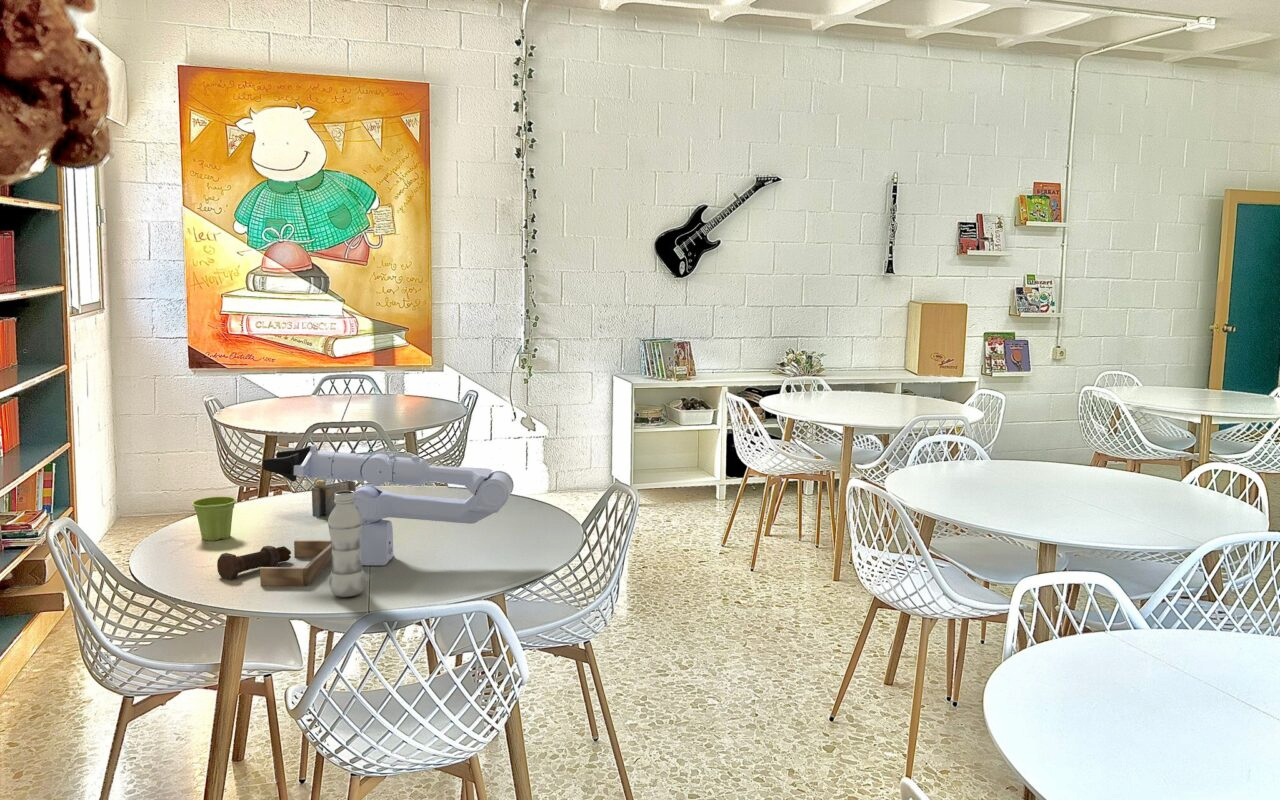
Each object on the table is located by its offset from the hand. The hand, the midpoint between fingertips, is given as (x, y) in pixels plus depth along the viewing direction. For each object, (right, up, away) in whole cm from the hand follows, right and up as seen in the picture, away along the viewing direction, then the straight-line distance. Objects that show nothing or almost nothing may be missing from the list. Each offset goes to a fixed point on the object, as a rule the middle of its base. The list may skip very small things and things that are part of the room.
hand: (270, 460), depth 211 cm
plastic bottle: (+22, -25, -20) cm, 39 cm away
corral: (+7, -22, -4) cm, 24 cm away
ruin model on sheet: (0, -17, +46) cm, 48 cm away
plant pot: (-20, -19, +21) cm, 35 cm away
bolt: (-1, -23, -4) cm, 23 cm away
